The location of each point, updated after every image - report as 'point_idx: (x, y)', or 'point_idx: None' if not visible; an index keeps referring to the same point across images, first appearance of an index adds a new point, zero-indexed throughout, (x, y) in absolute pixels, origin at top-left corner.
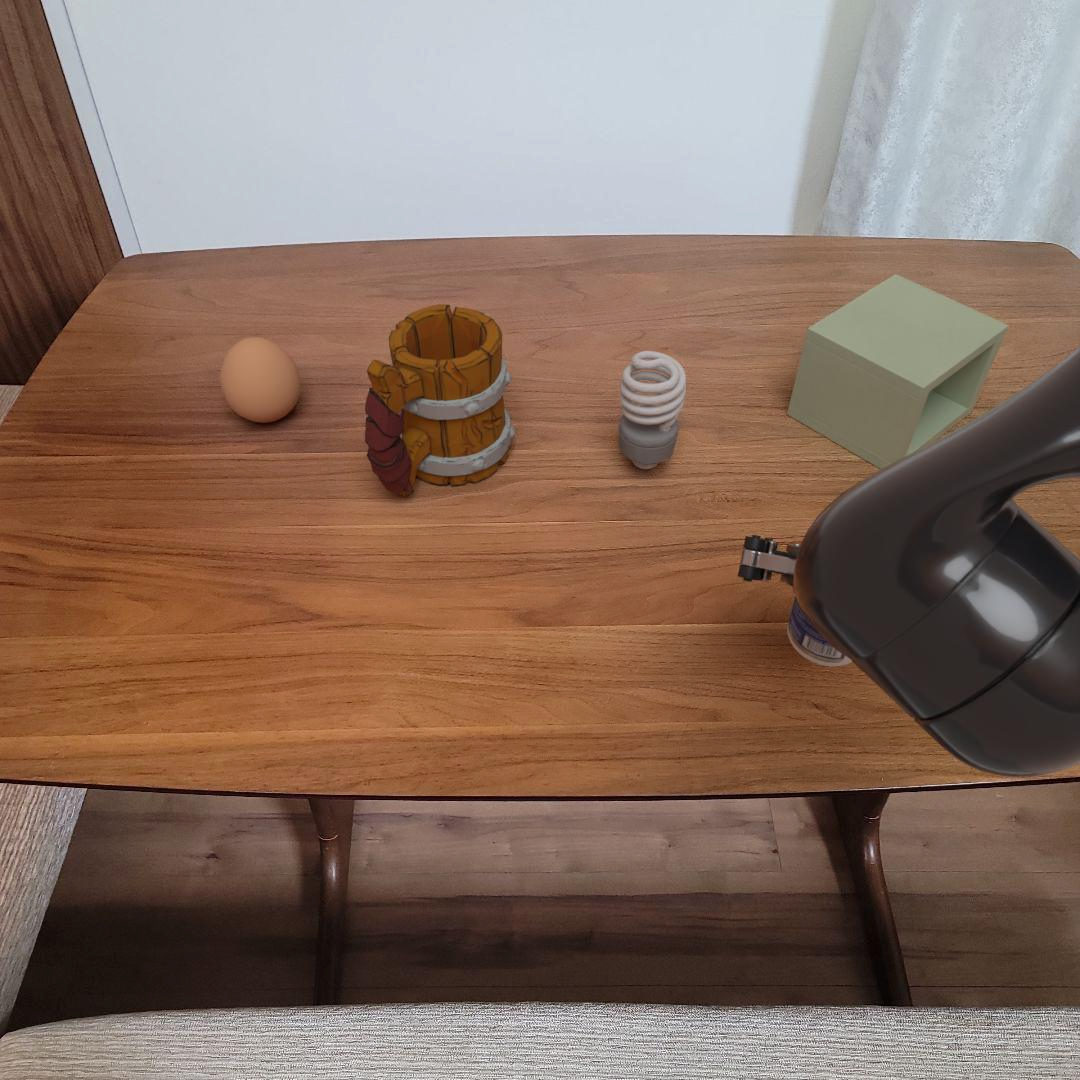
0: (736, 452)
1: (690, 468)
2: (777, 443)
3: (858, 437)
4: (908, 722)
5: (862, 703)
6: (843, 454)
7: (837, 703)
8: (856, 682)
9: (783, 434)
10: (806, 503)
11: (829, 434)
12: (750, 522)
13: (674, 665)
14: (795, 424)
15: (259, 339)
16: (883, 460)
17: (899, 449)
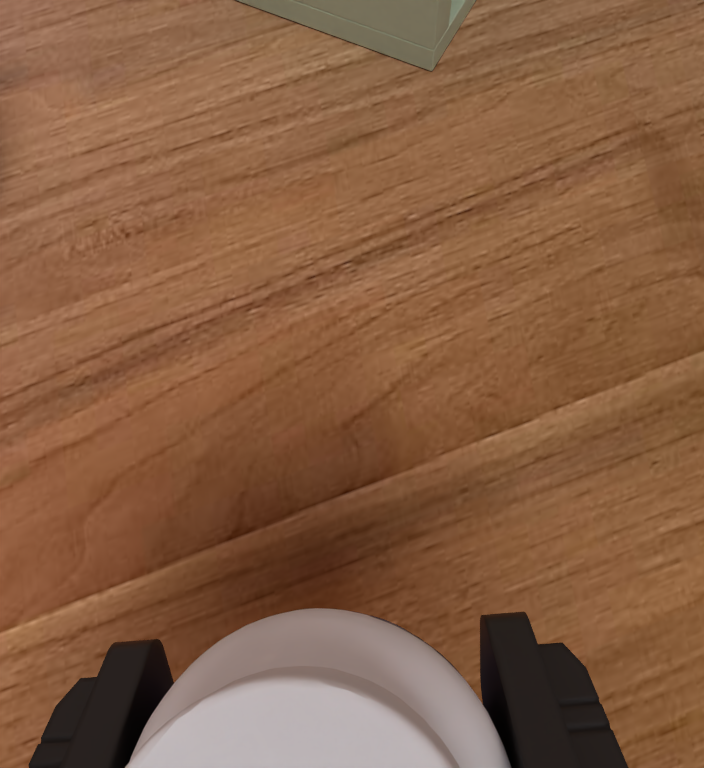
0: (130, 110)
1: (43, 178)
2: (207, 64)
3: (351, 6)
4: None
5: None
6: (335, 51)
7: None
8: (460, 634)
9: (215, 40)
10: (283, 189)
11: (299, 14)
12: (179, 274)
13: None
14: (235, 10)
15: None
16: (410, 44)
17: (434, 12)
